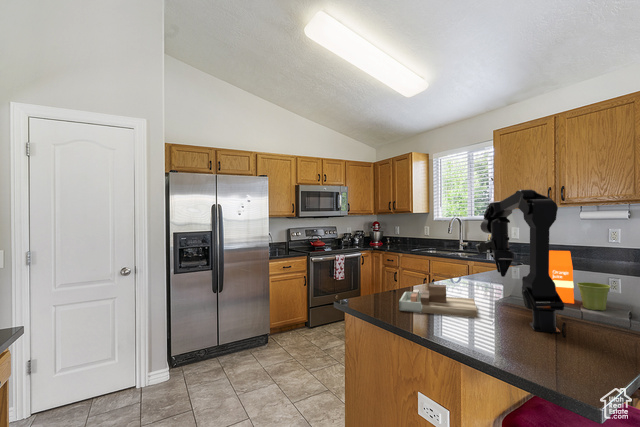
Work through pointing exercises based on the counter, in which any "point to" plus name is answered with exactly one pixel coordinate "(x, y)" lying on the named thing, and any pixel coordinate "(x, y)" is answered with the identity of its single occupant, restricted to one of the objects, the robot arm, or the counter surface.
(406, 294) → the tray
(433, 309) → the maple board
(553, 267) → the orange juice
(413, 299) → the terracotta tile
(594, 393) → the counter surface
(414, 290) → the cream tile
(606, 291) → the plant pot
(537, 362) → the counter surface
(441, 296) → the brown stepped block
